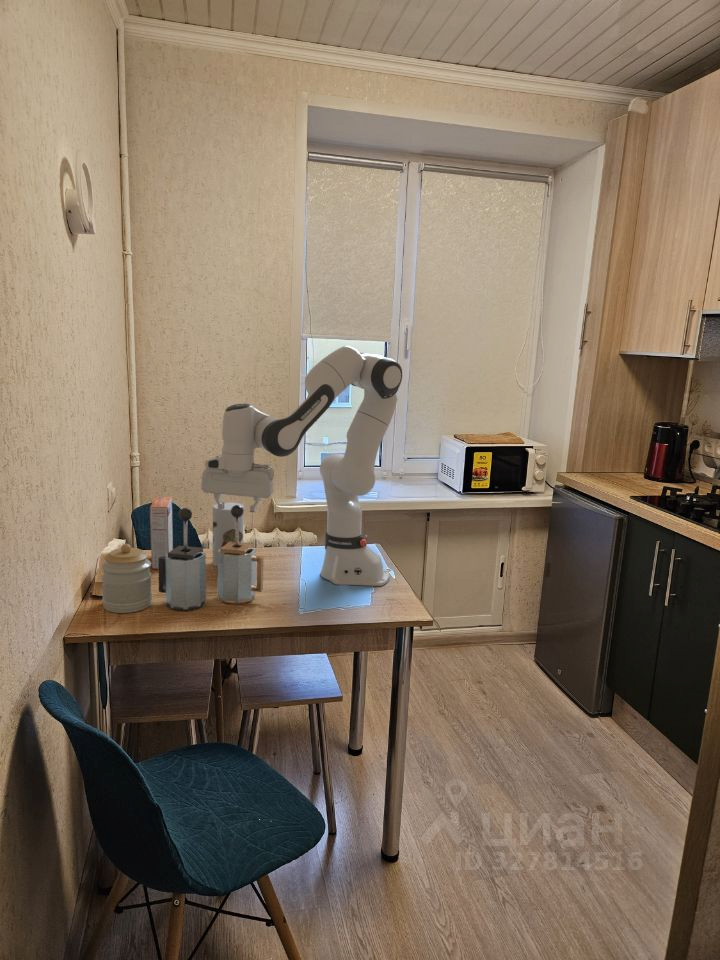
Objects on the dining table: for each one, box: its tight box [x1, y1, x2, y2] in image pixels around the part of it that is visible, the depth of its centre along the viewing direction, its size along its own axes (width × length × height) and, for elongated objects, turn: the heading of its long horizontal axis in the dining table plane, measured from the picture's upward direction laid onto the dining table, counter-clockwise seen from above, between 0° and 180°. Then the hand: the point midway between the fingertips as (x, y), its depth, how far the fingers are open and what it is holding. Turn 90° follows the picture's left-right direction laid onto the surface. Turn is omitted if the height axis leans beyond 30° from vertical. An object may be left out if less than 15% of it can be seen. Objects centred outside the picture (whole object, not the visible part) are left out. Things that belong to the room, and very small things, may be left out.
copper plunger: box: [231, 505, 245, 555], centre depth 189 cm, size 8×8×17 cm
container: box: [212, 502, 245, 568], centre depth 220 cm, size 10×10×20 cm
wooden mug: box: [216, 529, 244, 578], centre depth 206 cm, size 9×14×18 cm, turn 13°
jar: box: [100, 543, 153, 614], centre depth 182 cm, size 13×13×18 cm
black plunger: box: [178, 507, 193, 560], centre depth 183 cm, size 8×8×17 cm
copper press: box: [217, 542, 264, 605], centre depth 191 cm, size 13×10×16 cm
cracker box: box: [149, 496, 174, 570], centre depth 218 cm, size 14×6×21 cm, turn 10°
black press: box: [158, 545, 207, 612], centre depth 185 cm, size 13×10×16 cm
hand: (237, 510), depth 187 cm, fingers open, 8 cm apart
